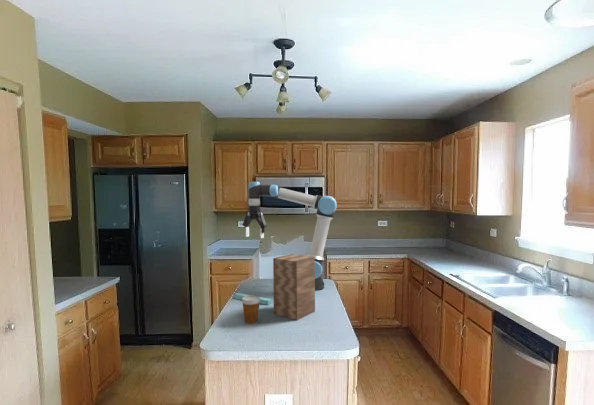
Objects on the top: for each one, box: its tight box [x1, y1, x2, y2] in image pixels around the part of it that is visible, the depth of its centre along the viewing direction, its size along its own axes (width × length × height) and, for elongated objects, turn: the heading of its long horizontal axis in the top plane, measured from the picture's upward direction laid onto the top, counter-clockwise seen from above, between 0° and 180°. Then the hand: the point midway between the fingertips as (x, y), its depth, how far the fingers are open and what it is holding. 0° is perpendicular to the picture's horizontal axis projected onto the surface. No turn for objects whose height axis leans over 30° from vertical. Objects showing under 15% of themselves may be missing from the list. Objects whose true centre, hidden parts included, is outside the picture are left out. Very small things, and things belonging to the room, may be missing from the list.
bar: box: [234, 292, 272, 306], centre depth 196 cm, size 26×3×3 cm, turn 59°
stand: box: [272, 253, 316, 321], centre depth 175 cm, size 16×16×30 cm
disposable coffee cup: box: [241, 294, 261, 325], centre depth 163 cm, size 10×10×12 cm
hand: (254, 237), depth 213 cm, fingers open, 13 cm apart
